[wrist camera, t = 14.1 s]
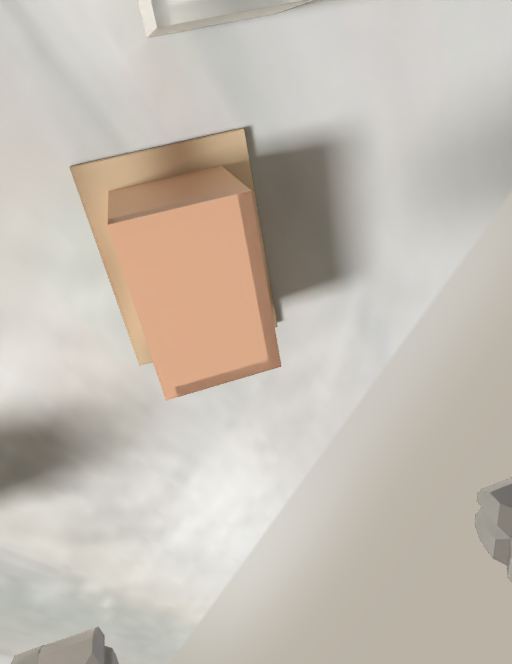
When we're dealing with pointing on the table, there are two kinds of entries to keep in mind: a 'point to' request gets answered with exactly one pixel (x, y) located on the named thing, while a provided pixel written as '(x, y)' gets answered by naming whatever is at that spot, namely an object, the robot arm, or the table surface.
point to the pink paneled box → (196, 278)
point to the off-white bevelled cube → (204, 13)
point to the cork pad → (146, 168)
